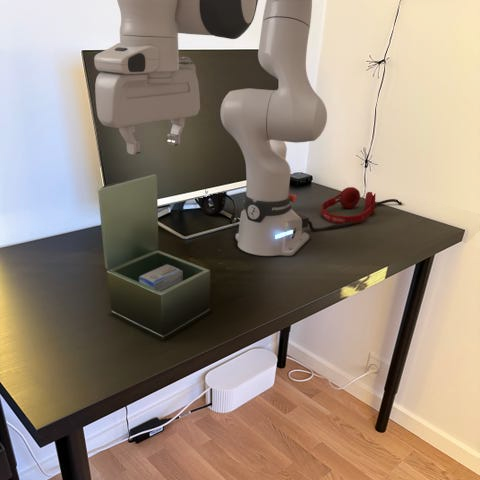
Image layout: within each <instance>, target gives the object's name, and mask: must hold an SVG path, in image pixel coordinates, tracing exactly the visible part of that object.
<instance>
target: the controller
mask: <svg viewBox="0 0 480 480" xmlns="http://www.w3.org/2000/svg"><path fill="white" fill-rule="evenodd" d="M227 194H228V192H227V191H226V192H224V193H218V194H213V195H210V196H207V197H203V198H198V197H197V203H198V206H199V208H200V209H201V211H203V212H204V214H206V215H209V216H215V215H218V214H220V213H221V212H222V211H223V210H224V209H225V205H226V203H227V201H226V200H227ZM209 200H211V201H212V204H213V208H212V207H211V206H210V202H209Z"/></svg>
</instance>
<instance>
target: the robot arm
mask: <svg viewBox="0 0 480 480" xmlns="http://www.w3.org/2000/svg"><path fill="white" fill-rule="evenodd" d="M116 1H117V6H118V7H119V12H120V19H121V20H120V27H119V42H118V43H116V44H114V45H112V46H110V47H108V48H107V49H105V50H103V51H101V52H99V53H96V55H95V56H94V57H93V60H94V63H93V64H94V67H95V69H96V70H97V71H99V73H98V74H97V75H96V80H95V85H94V89H95V91H94V92H95V107H96V114H97V118H98V120H99V122H100V123H101V124H102V126H105V127H108V128H113V129H118V131H119V133H120V135H121V136H122V138H123V140H124V142H125V143H126V152H127V154H129V155H138V154H141V152H142V149H141V147H142V146H141V145H142V144H141V142H140V141H137V139H136V138H135V136H134V134H133V133H135V132H136V127H135V126H139V125H145V124H152V123H157V122H164V121H170V124H172V126H171V129H170V133H167V134H166V138H167V141H166V142H167V145H168V146H172V147H176V146H179V145H181V135H182V132H183V129H184V128H185V125H186V118H188V117H189V118H190V117H196V116H198V114H199V112H200V110H201V101H200V100H201V97H200V88H199V80H198V76H197V70H196V69H197V68H196V65H195V63H194V61H193V60H191V58H190V57H189V56H182V57H180V55H179V34H184V35H185V34H186V35H197V36H214V37H218V38H223V39H228V40H229V39H230V40H237V39H238V38H240V37H242V35H244V34H245V32H246V31H247V30H248V29H249V28H250V27H251V25H252V23H253V21H254V19H255V16H256V12H257V8H258V3H259V0H116ZM312 10H313V0H266V1H265V5H264V10H263V16H262V22H261V29H260V36H259V43H258V52H257V58H258V59H257V60H258V63H259V65H260V66H261V68H262V69H263V70H265V71H266V72H267V73H268V74H270V75H271V76H273V77H274V78H275V79H277V80H278V88H277V89H274V90H273V89H260V88H251V87H250V88H249V87H248V88H240V89H235V90H230V91H229V92H228V93H227V94H226V95H225V97H224V98H223V99H222V103H221V106H220V121H221V123H222V126H223V128H224V129H225V131H227V133H229V134H230V136H232V137H233V139H234V141H236V143H237V145H238V146H239V148H240V150H241V152H242V155H243V159H244V161H245V173H246V174H245V176H246V182H245V183H246V184H245V187H246V188H245V193H244V197H243V210H242V211H241V213H240V218H239V226H238V233H236V234H235V236H234V238H235V240H236V241H237V247H238V248H239V249H240V250H241V251H242V252H245V253H247V254H250V255H254V256H262V257H274V256H285V257H287V256H289V257H290V256H293V255H295V254H296V253H297V252H298V251H299V250H300V248H301V247H302V246H304V245H305V243H307V242H308V241H309V239H310V235H309V234H308V233H307V232H305V231H304V230H303V229H304V228H308V226H309V230H311V231H312V232H323V231H328V230H331V229H337V228H343V227H349V226H353V225H356V224H357V223H355V222H348V223H343V224H338V223H335V224H332V225H327V226H324V227H319V228H316V227H314V226H313V222H312V221H311V220H310V218H309V216H306V215H303V214H301V213H299V212H296V211H294V210H293V209H292V204H291V203H295V202H296V201H297V197H298V196H297V194H293V193H290V183H291V182H290V181H291V172H292V171H291V166H290V164H289V162H288V161H287V159H286V160H285V159H284V158H283V157H282V156H280V155H279V154H277V153H276V152H275V151H274V150H273V148H272V146H271V144H270V140H276V141H284V142H285V143H286V142H287V143H294V144H295V143H296V144H299V143H308V142H315V141H316V140H317V139H318V138H319V137H321V136H322V134H323V132H324V130H325V129H326V126H327V122H328V111H327V107H326V105H325V103H324V101H323V100H322V98H321V97H320V96H319V95H318V94H317V93H316V91H315V90H314V88H313V87H312V85H311V83H310V82H311V81H310V80H309V77H308V72H307V54H308V53H307V51H308V43H309V36H310V30H311V22H312V13H313V11H312ZM398 200H399V199H396V198H389V199H384V200H380V201H377V202H376V201H375V207H376V206H380V205H384V204H387V203H396V204H398V205H399V206H402V205H403V202H402V201H400V200H399V201H400V202H399V201H398Z"/></svg>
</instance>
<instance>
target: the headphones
mask: <svg viewBox="0 0 480 480" xmlns="http://www.w3.org/2000/svg"><path fill="white" fill-rule="evenodd" d="M337 199H338V200H337ZM360 199H361V193H360V190H358V188H356V187H354V186H347V187H346V188H344V189H343V190H342V191H341V192H340V193H339V194H337V195H336V196H334V197H331V198H328V199H327V200H326V201H324V202H323V203H322V204H321V217H322V218H323V219H325V220H326V221H328V222H331V223H334V224H343V223H348V222H355V223H356V224H358V223H361V222H363V221H365V220H366V219H368V218H369V217H370V216H371V215H372V213H373V214H374V211H376V206H375V203H376V193H373V192H372V191H367V192H366V194H365V200H364V212H362V213H359V214H356V215H337V214H333V213H330V212H328V211H327V209H328V208H330V207H333V206H335V205H337V204H338V203H340V205H341V207H343V208H345V209H348V210H349V209H352V208H354V207H355V206H357V205H358V203H359V202H360Z"/></svg>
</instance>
